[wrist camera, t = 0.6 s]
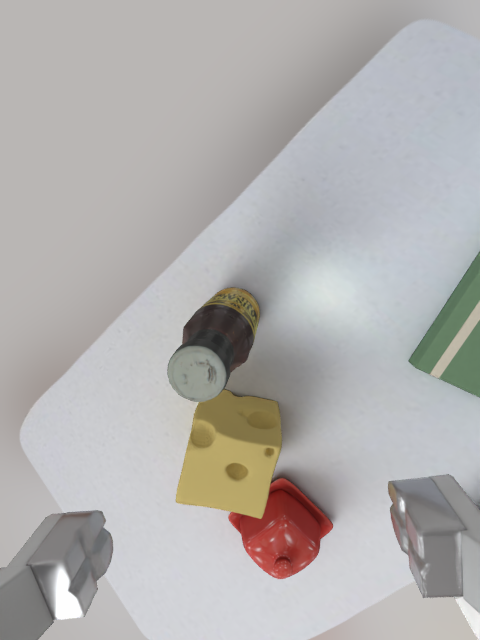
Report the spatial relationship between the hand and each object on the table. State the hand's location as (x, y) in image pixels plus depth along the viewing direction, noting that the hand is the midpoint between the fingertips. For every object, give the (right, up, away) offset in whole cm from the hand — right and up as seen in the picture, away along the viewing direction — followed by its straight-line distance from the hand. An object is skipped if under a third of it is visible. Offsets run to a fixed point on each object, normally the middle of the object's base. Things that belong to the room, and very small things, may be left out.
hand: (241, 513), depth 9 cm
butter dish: (+6, -23, +38) cm, 45 cm away
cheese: (-1, -9, +35) cm, 36 cm away
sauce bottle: (-1, +7, +31) cm, 32 cm away
